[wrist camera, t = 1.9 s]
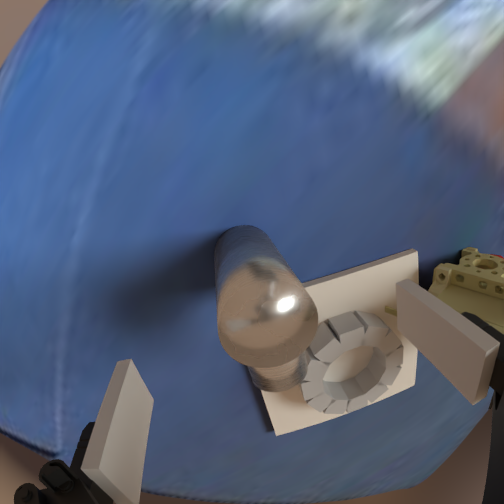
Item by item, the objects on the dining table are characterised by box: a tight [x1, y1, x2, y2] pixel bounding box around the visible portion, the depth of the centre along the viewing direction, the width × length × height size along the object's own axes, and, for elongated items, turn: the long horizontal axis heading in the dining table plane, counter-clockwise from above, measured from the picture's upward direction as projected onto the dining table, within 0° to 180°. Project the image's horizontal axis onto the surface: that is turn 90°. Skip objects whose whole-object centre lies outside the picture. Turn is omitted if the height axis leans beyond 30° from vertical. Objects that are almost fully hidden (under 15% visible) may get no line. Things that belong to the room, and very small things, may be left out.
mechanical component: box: [385, 247, 504, 334], centre depth 26 cm, size 8×17×20 cm, turn 99°
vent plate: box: [261, 249, 419, 436], centre depth 29 cm, size 18×18×4 cm
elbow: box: [214, 225, 318, 392], centre depth 21 cm, size 8×5×12 cm, turn 14°
